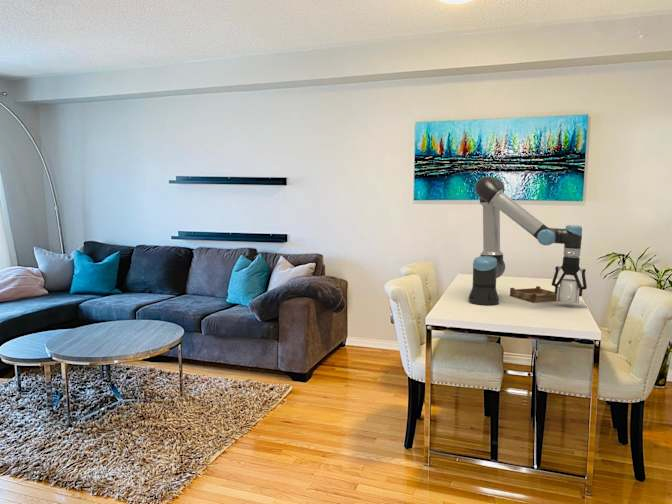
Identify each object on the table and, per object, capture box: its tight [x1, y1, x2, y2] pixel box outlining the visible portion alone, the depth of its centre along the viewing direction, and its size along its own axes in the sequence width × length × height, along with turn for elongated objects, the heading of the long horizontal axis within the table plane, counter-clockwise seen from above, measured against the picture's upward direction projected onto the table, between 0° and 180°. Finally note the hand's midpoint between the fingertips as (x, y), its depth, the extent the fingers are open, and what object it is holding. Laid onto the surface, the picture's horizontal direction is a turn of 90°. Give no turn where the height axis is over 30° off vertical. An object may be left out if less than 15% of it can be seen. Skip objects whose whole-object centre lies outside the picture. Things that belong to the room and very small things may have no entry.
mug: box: [559, 278, 579, 304], centre depth 258 cm, size 9×12×11 cm
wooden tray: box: [509, 285, 561, 304], centre depth 280 cm, size 19×19×4 cm
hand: (567, 301), depth 259 cm, fingers closed on mug, 9 cm apart
